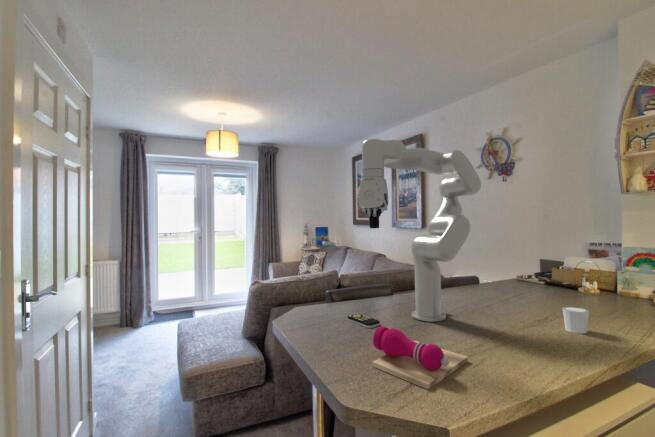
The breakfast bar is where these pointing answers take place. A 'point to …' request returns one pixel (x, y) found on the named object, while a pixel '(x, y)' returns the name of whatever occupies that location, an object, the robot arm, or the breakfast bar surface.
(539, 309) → the breakfast bar surface
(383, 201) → the robot arm
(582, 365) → the breakfast bar surface
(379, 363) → the cutting board
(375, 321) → the remote control
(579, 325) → the white tapered cylinder
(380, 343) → the pepper mill
